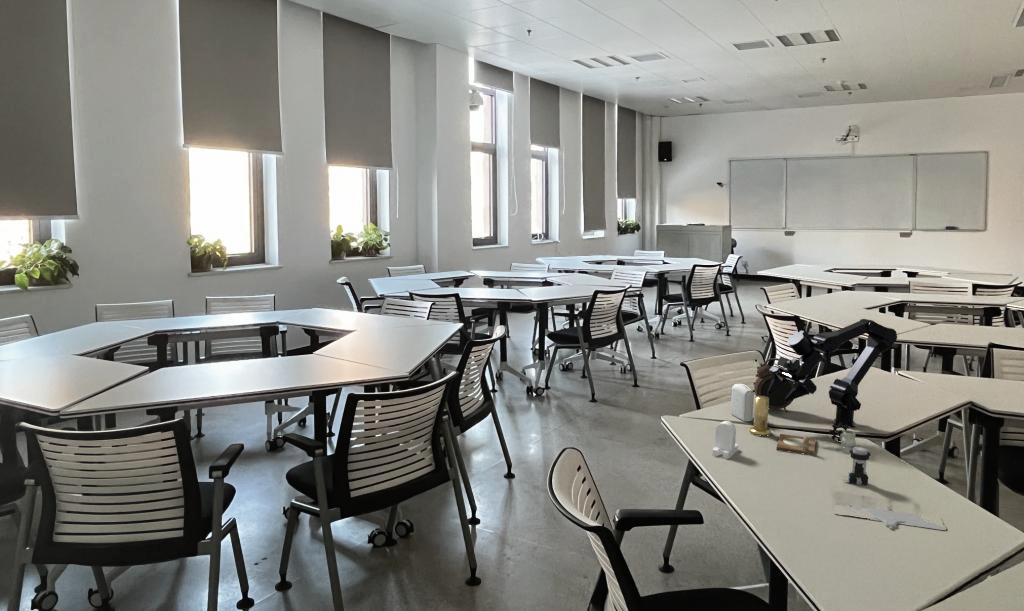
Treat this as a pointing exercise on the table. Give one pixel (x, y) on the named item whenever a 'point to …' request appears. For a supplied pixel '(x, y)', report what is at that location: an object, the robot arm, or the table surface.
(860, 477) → the black white upright piece
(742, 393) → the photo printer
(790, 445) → the base plate
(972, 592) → the table surface
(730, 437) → the white phone stand
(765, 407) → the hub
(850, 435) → the valve
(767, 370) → the alarm clock
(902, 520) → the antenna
